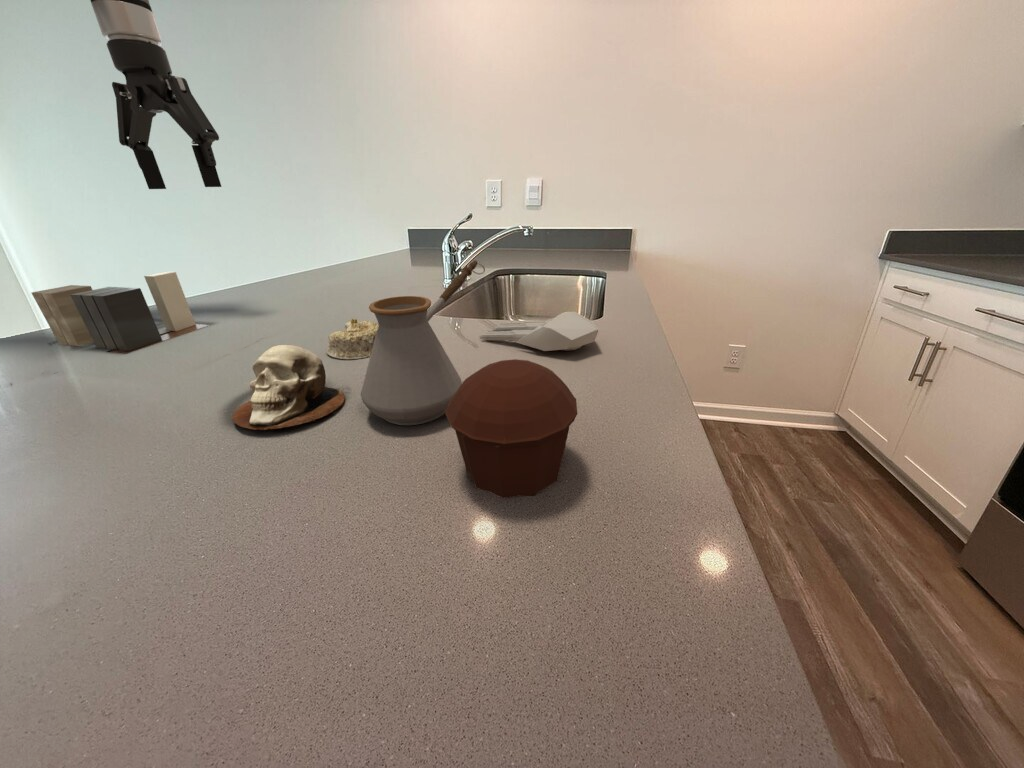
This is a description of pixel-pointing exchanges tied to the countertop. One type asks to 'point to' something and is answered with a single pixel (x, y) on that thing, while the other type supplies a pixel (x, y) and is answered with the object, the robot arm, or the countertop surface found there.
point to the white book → (170, 300)
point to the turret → (548, 332)
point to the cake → (353, 340)
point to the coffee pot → (410, 360)
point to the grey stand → (121, 319)
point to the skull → (287, 390)
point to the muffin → (512, 426)
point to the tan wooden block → (64, 314)
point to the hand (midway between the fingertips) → (185, 188)
